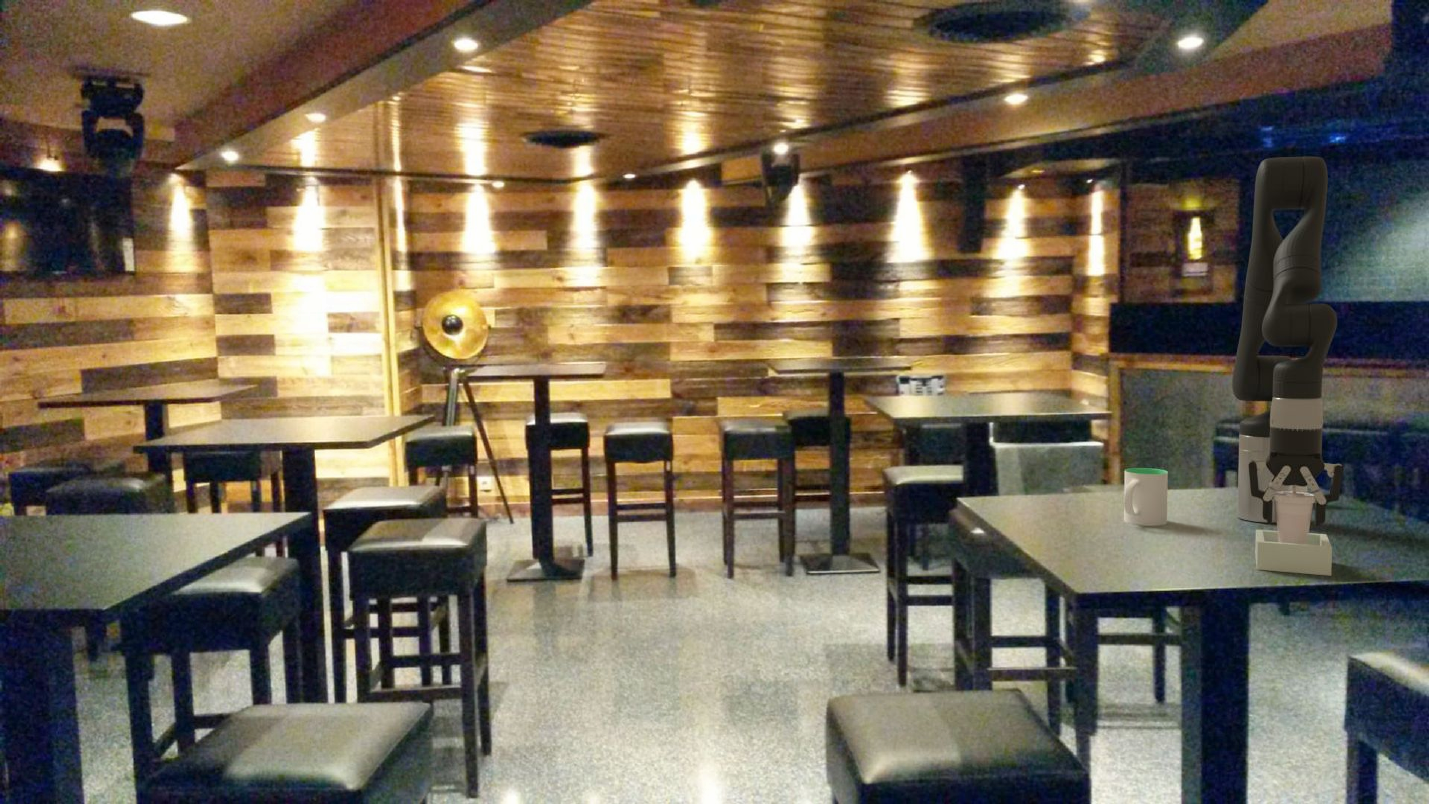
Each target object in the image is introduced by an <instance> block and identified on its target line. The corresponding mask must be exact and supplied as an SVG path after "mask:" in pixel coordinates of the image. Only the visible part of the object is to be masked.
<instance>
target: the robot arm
mask: <svg viewBox="0 0 1429 804" xmlns="http://www.w3.org/2000/svg"><path fill="white" fill-rule="evenodd" d="M1328 176H1329V175H1328V168H1327V164H1326V162H1325V160H1324V159H1323V158H1322V157H1321V156H1320V157H1319V156H1292V157H1291V156H1288V157H1287V156H1285V157H1268V158H1265V159H1264V160H1262V161H1261V162H1260V164H1259V166H1258V169H1257V172H1256V175H1255V184H1254V198H1253V200H1254V202H1253V217H1252V218H1253V219H1252V233H1251V234H1252V235H1251V236H1252V237H1251V245H1250V252H1249V258H1248V259H1249V260H1248V266H1247V272H1246V277H1245V286H1244V291H1243V292H1244V294H1243V306H1242V307H1243V308H1242V320H1241V328H1240V335H1239V340H1238V345H1237V350H1236V351H1237V352H1236V355H1235V361H1234V365H1233V372H1232V379H1231V380H1232V381H1231V383H1232V384H1231V386H1232V387H1231V388H1232V392H1233V395H1234V397H1235V398H1236V400H1239V401H1243V402H1271V406H1270V408H1268V409H1267V410H1266V411H1264V412H1261V413H1259V414H1257V415H1254V416H1251V417H1248V418H1244V419H1243V420H1241V421H1240V422H1239V432H1238V433H1239V435H1238V436H1239V439H1238V442H1239V443H1238V478H1237V479H1238V480H1237V514H1236V515H1237V518H1239V519H1242V520H1245V521H1248V522H1255V523H1266V524H1273V523H1277V521H1276V512H1275V502H1274V500H1273V499H1272V498H1273V495H1274V494H1275V492H1280V491H1289V490H1290V486H1291V485H1297V486H1303V487H1305V486H1307V485H1308V486H1309V487H1310V488H1309V489H1310V491H1311V494H1313V495H1314V496H1315V498H1316V502H1315V503H1314V526H1315V527H1318V528H1319V527H1321V524H1325V522H1326V515H1327V514H1326V511H1327V504H1328V503H1332V502H1338V501H1339V500H1340V496H1341V495H1340V494H1341V488H1342V483H1343V475H1344V470H1345V469H1344V467H1343V465H1342V464H1341V463H1334V464H1333V463H1325V462H1324V461H1323V456H1322V452H1323V451H1322V450H1323V448H1322V447H1323V446H1322V445H1323V425H1324V419H1323V417H1324V415H1323V414H1324V413H1323V412H1324V411H1323V410H1324V409H1323V404H1322V403H1323V402H1322V396H1323V395H1322V392H1323V390H1322V389H1323V373H1324V366H1325V362H1326V358H1327V355H1328V352H1329V349H1330V347H1331V343H1332V341H1333V338H1334V335H1335V334H1336V329H1337V327H1338V317H1337V314H1336V311H1335V310H1334V309H1333V308H1332V306H1330V305H1329V304H1326V303H1317V302H1316V303H1310V302H1312V301H1314V300H1316V299H1318V297H1319V296H1320V294H1321V292H1322V287H1323V286H1322V284H1323V283H1322V279H1323V278H1322V263H1321V261H1322V260H1321V252H1322V251H1321V249H1322V240H1323V239H1322V238H1323V233H1324V226H1325V225H1324V224H1325V218H1326V206H1327V197H1328V183H1329V182H1328V181H1329V179H1328ZM1277 210H1278V211H1280V210H1282V211H1283V210H1304V213H1303V215H1302V217H1301V218H1300V220H1299V222H1298V223H1297V224H1296V226H1294V228H1293V229H1292V230H1291V231H1290V232H1289V234H1288V235H1286V237H1285V238H1284V239H1283V238H1282V236H1281V233H1280V231H1279V229H1278V227H1277V225H1276V222H1275V218H1274V215H1273V214H1274V211H1277ZM1265 342H1267V343H1268V344H1269V345H1270V346H1273V347H1279V348H1285V347H1286V348H1287V347H1288V348H1289V347H1292V348H1293V347H1297V348H1298V347H1303V348H1304V347H1309V351H1308V352H1307V354H1305V356H1303V357H1301V358H1298V359H1292V358H1291V357H1289V356H1288V355H1286V356H1285V355H1258V354H1259V352H1260V350H1261V348H1262V347H1263V344H1264V343H1265ZM1324 470H1325V471H1327V472H1326V473H1327V475H1328V477H1329V478H1331V481H1330V488H1329V492H1328V493H1325V494H1323V492H1322V490H1321V489H1320V486H1319V485H1318V483H1317V482H1316V478H1318V476H1319V475H1320V474H1321V473H1322V472H1323V471H1324Z"/></svg>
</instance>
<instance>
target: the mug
mask: <svg viewBox="0 0 1429 804" xmlns="http://www.w3.org/2000/svg"><path fill="white" fill-rule="evenodd" d="M1168 478H1169V472H1168V470H1165V469H1159V468H1151V467H1150V468H1147V467H1133V468H1127V469H1124V484H1123V485H1124V493H1123V506H1124V507H1123V522H1125V523H1127V524H1131V525H1136V526H1145V527H1149V526H1150V527H1152V526H1153V527H1157V526H1164V525H1166V524H1167V523H1168V492H1169V491H1168V487H1169V486H1168V485H1169V482H1168V480H1169V479H1168Z"/></svg>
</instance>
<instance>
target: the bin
mask: <svg viewBox="0 0 1429 804" xmlns="http://www.w3.org/2000/svg"><path fill="white" fill-rule="evenodd" d="M1254 546H1255V553H1254V557H1255V563H1256V564H1255V565H1256V570H1262V571H1270V572H1271V571H1272V572H1281V573H1283V572H1284V573H1295V574H1307V575H1308V574H1309V575H1316V576H1317V575H1318V576H1319V575H1320V576H1330V577H1331V576H1332V562H1333V561H1332V560H1333V546H1332V545H1331V542H1330V540H1329V538H1328V535H1327V534H1326V533H1325V534H1324V533H1314V532H1313V533H1312V532H1309V533H1308V539H1307V544H1294V543H1281V542H1279V540H1278V530H1270V529H1269V530H1268V529H1255V545H1254Z"/></svg>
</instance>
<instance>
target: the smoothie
mask: <svg viewBox="0 0 1429 804" xmlns="http://www.w3.org/2000/svg"><path fill="white" fill-rule="evenodd" d="M1296 486H1297V485H1293V491H1280V492H1275V494H1274V495H1273V498H1272V499H1273V500H1274V502H1275V512H1276V521H1277V522H1276V528H1277V530H1276V531H1278V540H1279V542H1281V543H1294V544H1307V539H1308V533H1310V526H1311V521H1312V515H1313V510H1314V506H1315V502H1317V499H1316V498H1315V496H1314V494H1313V493H1309V492H1307V493H1303V492H1296Z"/></svg>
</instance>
